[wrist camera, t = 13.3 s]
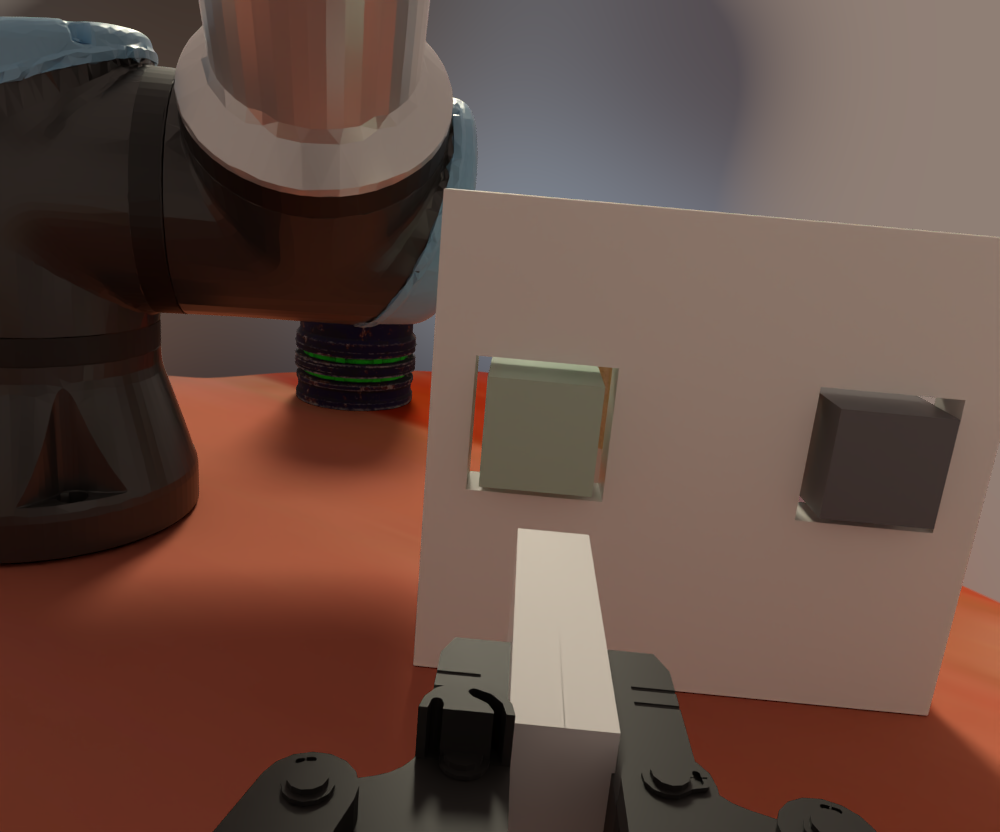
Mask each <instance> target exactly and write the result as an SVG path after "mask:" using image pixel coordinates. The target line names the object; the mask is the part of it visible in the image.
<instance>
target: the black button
mask: <svg viewBox="0 0 1000 832" xmlns="http://www.w3.org/2000/svg"><path fill="white" fill-rule="evenodd" d="M960 421H961V420H960V419H958V418H956V417H955V416H953V415H951V414H949V413H947V412H945V411H944V410H942V409H940V408H938V407H936V406H935V405H933V404H931V403H929V402H927V401H926V400H924V399H922V398H920V397H918V396H914V395H903V394H892V393H881V392H870V391H859V390H848V389H838V388H827V387H821V389H820V394H819V399H818V404H817V409H816V414H815V419H814V424H813V429H812V434H811V439H810V445H809V450H808V455H807V460H806V465H805V470H804V475H803V480H802V485H801V490H800V497H801V498H802V499H803V500H804V501H805V502H806V504H807V505H808V506H809V507H810V508H811V509H812V511H813V512H814V513H815V514H816V515H817V517H818V518H819V519H829V520H839V521H850V522H860V523H871V524H882V525H892V526H903V527H914V528H924V529H934V527H935V523H936V518H937V514H938V510H939V506H940V502H941V498H942V494H943V490H944V486H945V482H946V478H947V474H948V470H949V466H950V462H951V458H952V454H953V450H954V446H955V441H956V437H957V433H958V429H959V425H960Z"/></svg>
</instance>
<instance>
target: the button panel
mask: <svg viewBox="0 0 1000 832" xmlns="http://www.w3.org/2000/svg"><path fill="white" fill-rule="evenodd" d="M479 356H489V357H500V358H511V359H522V360H532V361H543V362H554V363H565V364H576V365H587V366H598V367H609V368H612V376H611V384H610V392H609V400H608V408H607V416H606V424H605V432H604V440H603V448H602V456H601V464H600V472H599V480H598V483H593V491H592V497H585V496H574V495H563V494H553V493H542V492H531V491H521V490H510V489H500V488H489V487H479V477H480V472H474V471H470V461H471V449H472V436H473V423H474V411H475V398H476V386H477V373H478V361H479V360H478V359H479ZM821 387H827V388H838V389H848V390H859V391H870V392H881V393H892V394H903V395H914V396H925V397H936V400H935V404H934V405H935V406H936V407H938V408H940V409H942V410H944V411H945V412H947V413H949V414H951V415H953V416H955V417H956V418H958V419H960V420H961V421H960V425H959V429H958V433H957V437H956V441H955V446H954V450H953V454H952V458H951V462H950V466H949V470H948V474H947V478H946V482H945V486H944V490H943V494H942V498H941V502H940V506H939V510H938V514H937V518H936V523H935V527H934V529H924V528H914V527H903V526H892V525H882V524H871V523H860V522H850V521H839V520H829V519H819V518H818V517H817V515H816V514H815V513H814V512H813V511H812V509H811V508H810V507H809V506H808V505H807V504H806V503H804V502H798V501H799V495H800V490H801V485H802V480H803V475H804V470H805V465H806V460H807V455H808V450H809V445H810V439H811V434H812V429H813V424H814V419H815V414H816V409H817V404H818V399H819V394H820V389H821ZM999 442H1000V237H994V236H982V235H971V234H960V233H948V232H937V231H925V230H914V229H903V228H892V227H881V226H869V225H858V224H846V223H835V222H824V221H813V220H802V219H791V218H779V217H768V216H757V215H745V214H734V213H722V212H712V211H700V210H689V209H677V208H666V207H655V206H643V205H633V204H621V203H610V202H599V201H587V200H576V199H565V198H553V197H543V196H531V195H520V194H508V193H497V192H486V191H475V190H464V189H452V188H445V189H444V194H443V209H442V225H441V240H440V256H439V271H438V287H437V303H436V318H435V334H434V351H433V366H432V380H431V396H430V412H429V427H428V443H427V458H426V474H425V489H424V505H423V521H422V536H421V552H420V567H419V583H418V598H417V614H416V630H415V645H414V661H413V665H414V666H424V667H435V668H438V663H439V658H440V653H441V651H442V650H443V649H444V648H445V647H446V646H447V645H448V644H449V643H450V642H451V641H452V640H453V639H454V638H455V637H459V638H470V639H480V640H490V641H501V642H507V635H508V625H509V615H510V605H511V594H512V584H513V574H514V564H515V554H516V543H517V533H518V528H521V529H532V530H542V531H553V532H564V533H574V534H585V535H589V539H590V545H591V551H592V558H593V564H594V570H595V576H596V583H597V589H598V595H599V602H600V608H601V614H602V620H603V627H604V633H605V639H606V645H607V650H616V651H627V652H637V653H647V654H654V655H655V656H656V658H657V659H658V660H659V661H660V662H661V663H662V664H663V665H664V666H665V667H666V668H667V669H668V671H669V672H670V675H671V678H672V682H673V686H674V689H675V691H680V692H691V693H701V694H711V695H721V696H732V697H742V698H752V699H762V700H772V701H783V702H793V703H803V704H813V705H824V706H834V707H844V708H854V709H865V710H875V711H885V712H895V713H906V714H916V715H926V716H928V713H929V709H930V705H931V701H932V698H933V694H934V690H935V686H936V682H937V679H938V675H939V671H940V667H941V663H942V659H943V656H944V652H945V648H946V644H947V640H948V637H949V633H950V629H951V625H952V621H953V618H954V614H955V610H956V606H957V602H958V598H959V595H960V591H961V587H962V583H963V579H964V575H965V572H966V568H967V564H968V560H969V556H970V553H971V549H972V545H973V541H974V537H975V533H976V530H977V526H978V522H979V518H980V514H981V511H982V507H983V503H984V499H985V495H986V491H987V488H988V484H989V480H990V476H991V472H992V468H993V465H994V461H995V457H996V453H997V450H998V446H999Z"/></svg>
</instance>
